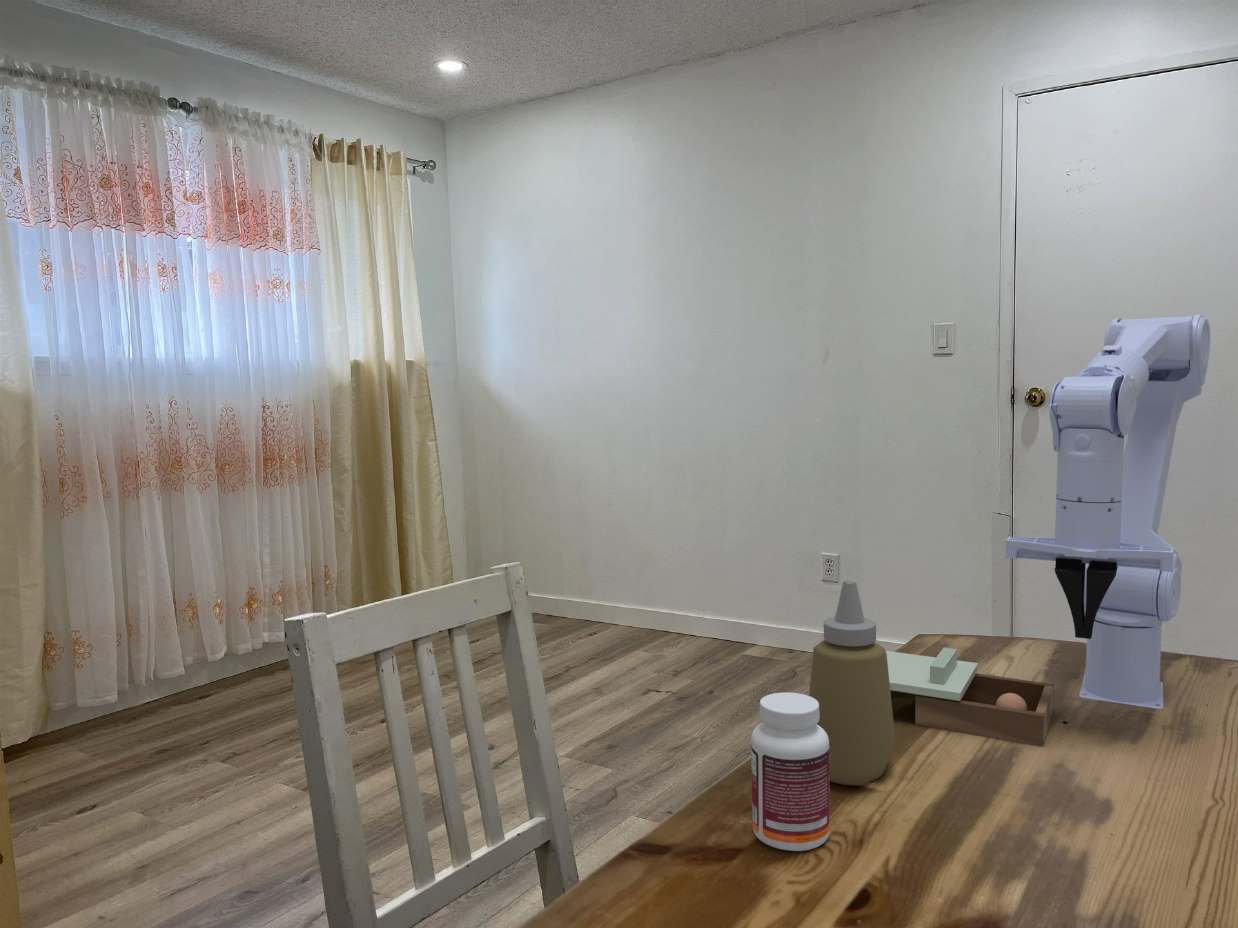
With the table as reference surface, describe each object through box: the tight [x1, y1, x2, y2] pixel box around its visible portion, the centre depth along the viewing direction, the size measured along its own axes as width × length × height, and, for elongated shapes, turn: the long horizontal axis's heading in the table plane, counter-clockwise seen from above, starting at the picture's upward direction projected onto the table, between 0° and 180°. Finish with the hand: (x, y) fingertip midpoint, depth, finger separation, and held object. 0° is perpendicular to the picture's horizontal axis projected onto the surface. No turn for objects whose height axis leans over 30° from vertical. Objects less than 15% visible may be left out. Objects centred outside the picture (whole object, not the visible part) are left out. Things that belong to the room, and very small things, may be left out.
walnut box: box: [914, 672, 1055, 747], centre depth 95 cm, size 10×12×4 cm
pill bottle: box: [750, 691, 831, 852], centre depth 73 cm, size 6×6×11 cm
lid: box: [885, 647, 979, 701], centre depth 98 cm, size 10×12×3 cm
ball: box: [996, 693, 1027, 711], centre depth 93 cm, size 3×3×3 cm
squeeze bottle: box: [808, 581, 896, 786], centre depth 83 cm, size 8×8×18 cm
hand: (1083, 635), depth 90 cm, fingers closed
